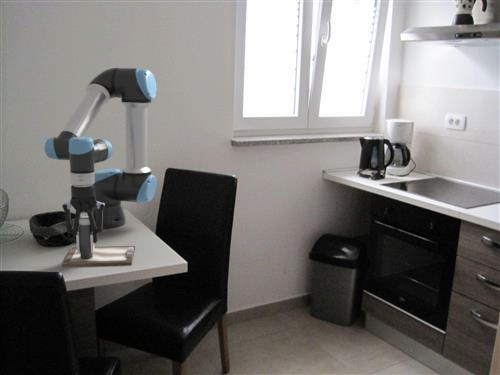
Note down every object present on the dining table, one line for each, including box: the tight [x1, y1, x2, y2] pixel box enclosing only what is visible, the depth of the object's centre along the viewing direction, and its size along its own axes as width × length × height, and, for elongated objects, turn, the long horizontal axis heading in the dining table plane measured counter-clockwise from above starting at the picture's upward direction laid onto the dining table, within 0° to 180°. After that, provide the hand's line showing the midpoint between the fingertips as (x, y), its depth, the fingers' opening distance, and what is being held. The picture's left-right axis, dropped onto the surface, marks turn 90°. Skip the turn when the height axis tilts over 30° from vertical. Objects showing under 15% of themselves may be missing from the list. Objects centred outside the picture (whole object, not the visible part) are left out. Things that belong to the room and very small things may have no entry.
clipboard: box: [62, 245, 136, 268], centre depth 165 cm, size 16×22×2 cm
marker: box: [78, 215, 93, 259], centre depth 160 cm, size 4×4×14 cm
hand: (85, 251), depth 161 cm, fingers closed on marker, 4 cm apart
